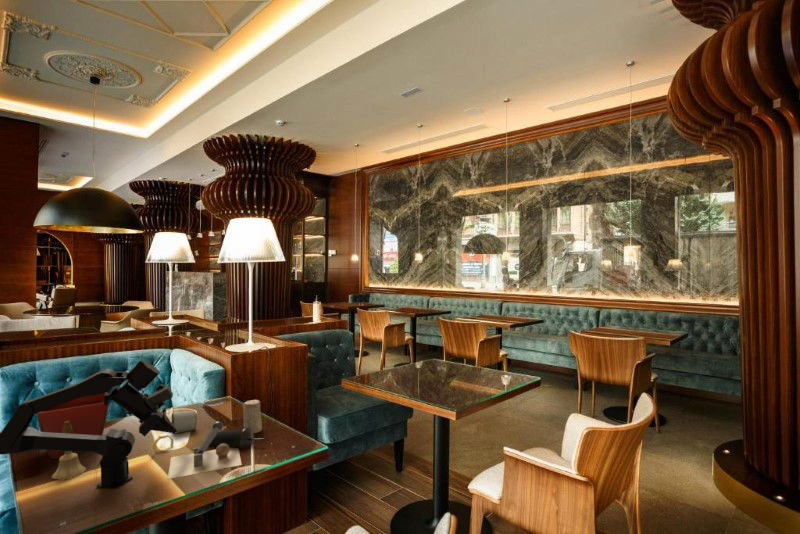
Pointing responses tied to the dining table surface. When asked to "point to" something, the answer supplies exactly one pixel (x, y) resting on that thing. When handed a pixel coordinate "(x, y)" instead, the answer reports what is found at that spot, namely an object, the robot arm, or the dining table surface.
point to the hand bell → (68, 460)
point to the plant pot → (75, 418)
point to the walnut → (222, 451)
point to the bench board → (202, 462)
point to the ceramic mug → (184, 421)
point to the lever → (209, 437)
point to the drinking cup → (235, 438)
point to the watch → (160, 438)
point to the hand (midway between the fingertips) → (176, 431)
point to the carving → (252, 415)
